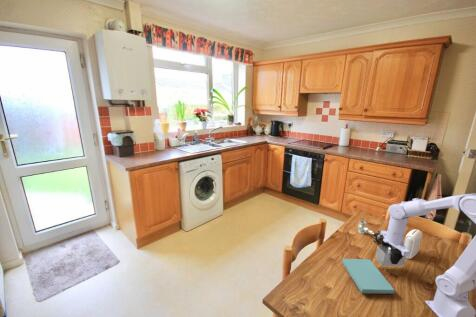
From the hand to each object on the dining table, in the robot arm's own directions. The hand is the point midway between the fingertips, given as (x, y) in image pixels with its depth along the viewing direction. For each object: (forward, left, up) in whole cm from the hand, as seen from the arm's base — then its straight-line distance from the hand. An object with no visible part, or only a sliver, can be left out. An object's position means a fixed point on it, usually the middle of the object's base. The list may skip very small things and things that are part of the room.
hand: (389, 258), depth 93 cm
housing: (0, 0, -2) cm, 2 cm away
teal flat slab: (-6, +13, -5) cm, 15 cm away
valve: (+24, -5, -5) cm, 25 cm away
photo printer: (+10, -17, -5) cm, 20 cm away
